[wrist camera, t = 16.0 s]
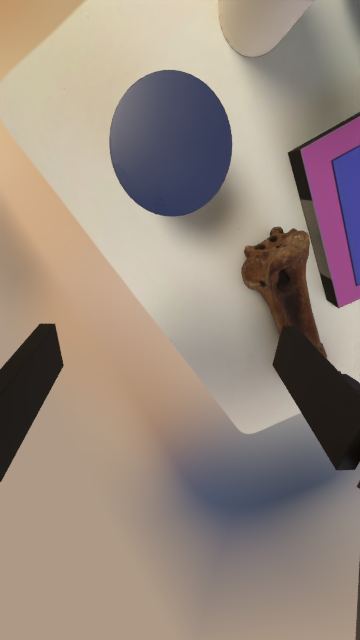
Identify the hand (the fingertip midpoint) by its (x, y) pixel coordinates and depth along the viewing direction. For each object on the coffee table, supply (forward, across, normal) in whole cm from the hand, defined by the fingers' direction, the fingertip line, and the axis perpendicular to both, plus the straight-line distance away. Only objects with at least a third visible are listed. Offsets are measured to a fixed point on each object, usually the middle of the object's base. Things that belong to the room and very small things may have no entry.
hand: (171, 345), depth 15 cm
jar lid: (+9, 0, +10) cm, 14 cm away
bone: (+23, +19, -10) cm, 31 cm away
